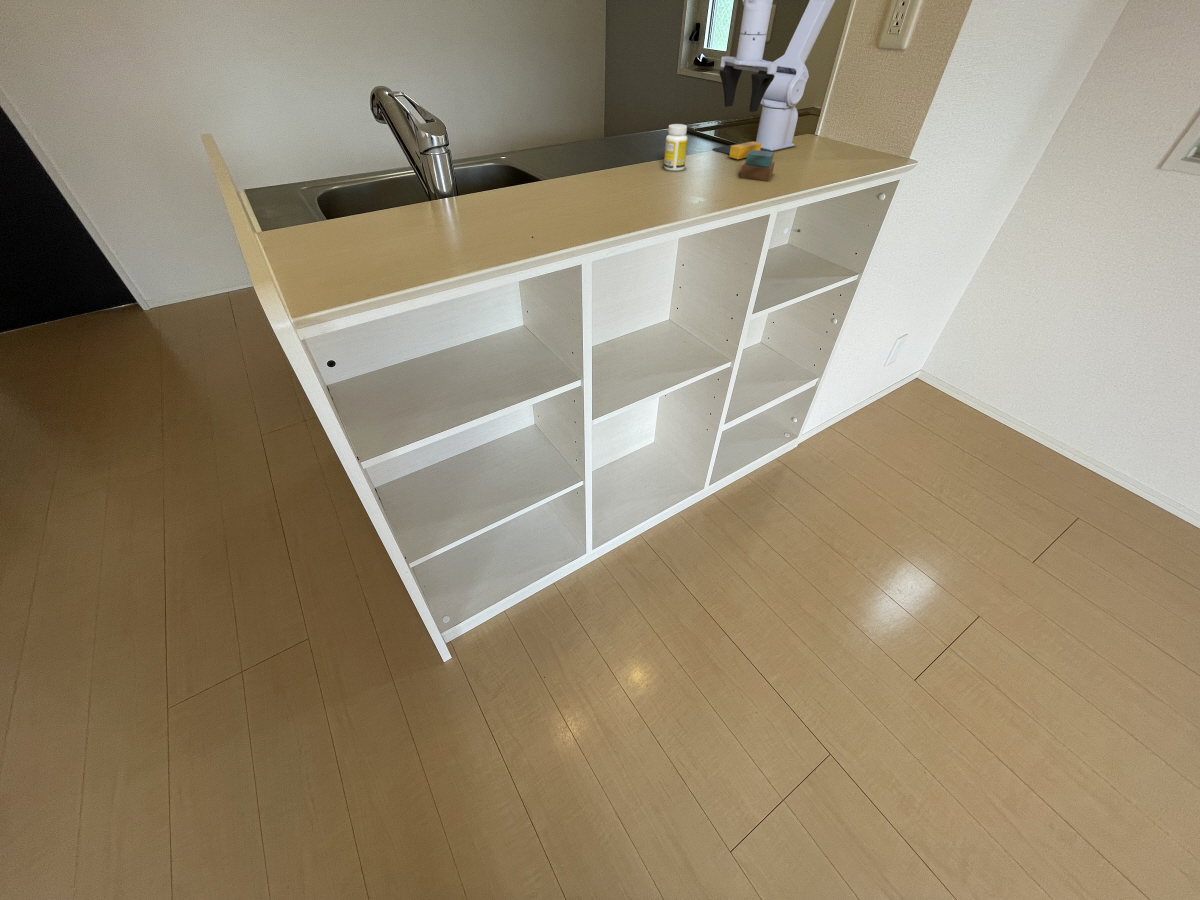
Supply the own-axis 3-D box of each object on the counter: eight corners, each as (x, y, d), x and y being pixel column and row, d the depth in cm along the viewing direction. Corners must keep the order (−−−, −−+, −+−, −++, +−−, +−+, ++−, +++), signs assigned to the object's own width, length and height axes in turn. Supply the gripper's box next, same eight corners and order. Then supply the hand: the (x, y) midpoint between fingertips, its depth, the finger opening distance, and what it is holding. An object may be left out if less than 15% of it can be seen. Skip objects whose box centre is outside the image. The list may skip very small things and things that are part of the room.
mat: (748, 142, 135) (749, 141, 135) (778, 150, 129) (779, 148, 129) (712, 149, 129) (712, 148, 129) (742, 158, 123) (742, 156, 123)
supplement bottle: (684, 166, 118) (688, 123, 112) (684, 171, 114) (689, 128, 108) (663, 165, 118) (667, 123, 112) (663, 170, 114) (667, 127, 109)
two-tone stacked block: (740, 177, 111) (744, 154, 108) (745, 170, 115) (749, 148, 112) (767, 181, 109) (772, 157, 106) (772, 174, 113) (777, 151, 110)
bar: (737, 159, 121) (739, 148, 120) (729, 157, 123) (730, 145, 121) (759, 154, 125) (761, 143, 123) (750, 152, 126) (752, 141, 125)
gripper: (715, 32, 112) (706, 105, 121) (768, 37, 103) (753, 115, 113) (737, 31, 115) (726, 102, 124) (789, 36, 107) (773, 112, 116)
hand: (740, 108), depth 119 cm, fingers open, 7 cm apart
